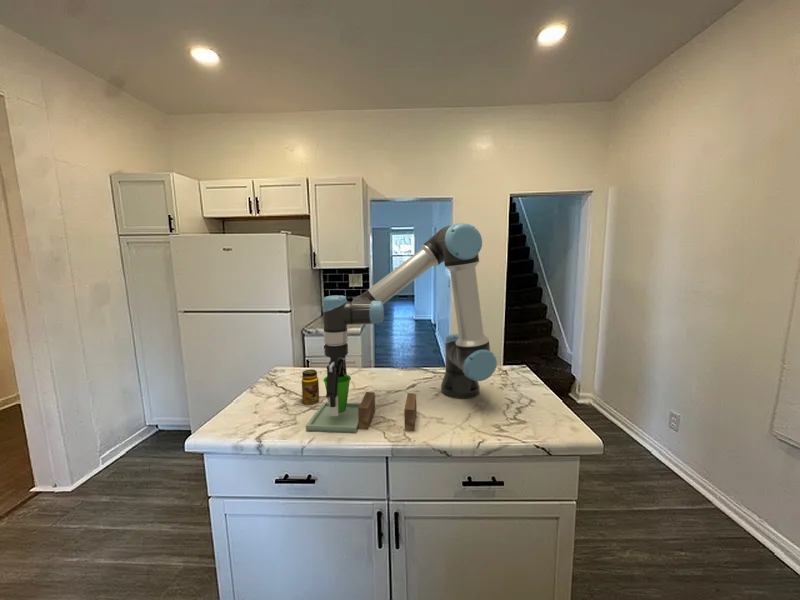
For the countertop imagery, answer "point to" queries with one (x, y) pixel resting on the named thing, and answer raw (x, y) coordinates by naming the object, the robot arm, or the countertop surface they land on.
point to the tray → (335, 420)
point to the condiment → (310, 389)
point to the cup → (341, 391)
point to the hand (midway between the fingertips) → (338, 408)
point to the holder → (368, 410)
